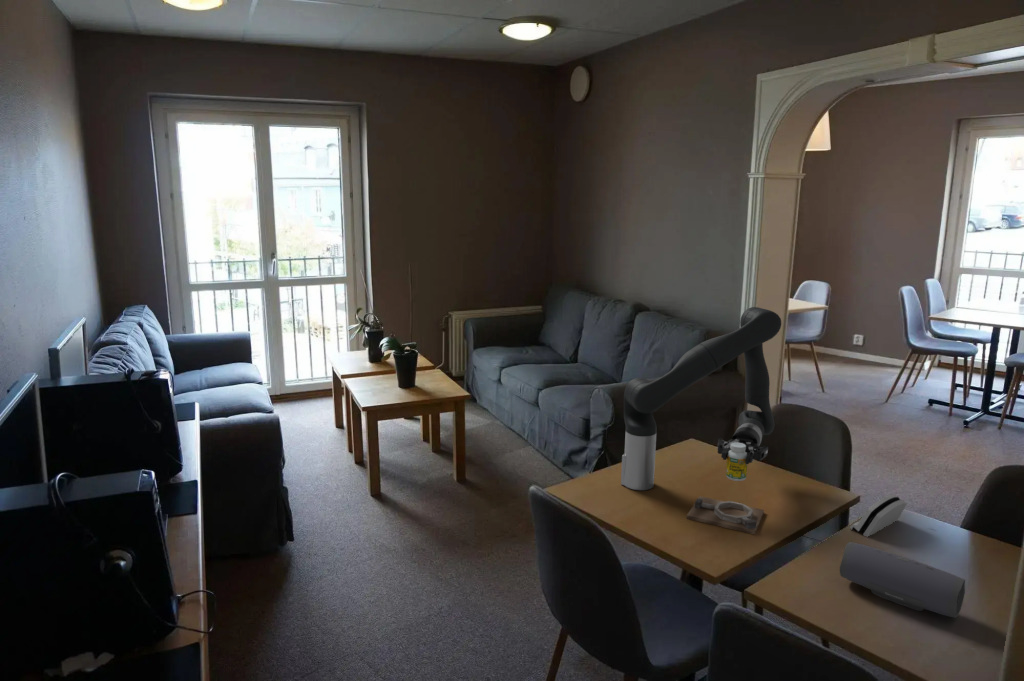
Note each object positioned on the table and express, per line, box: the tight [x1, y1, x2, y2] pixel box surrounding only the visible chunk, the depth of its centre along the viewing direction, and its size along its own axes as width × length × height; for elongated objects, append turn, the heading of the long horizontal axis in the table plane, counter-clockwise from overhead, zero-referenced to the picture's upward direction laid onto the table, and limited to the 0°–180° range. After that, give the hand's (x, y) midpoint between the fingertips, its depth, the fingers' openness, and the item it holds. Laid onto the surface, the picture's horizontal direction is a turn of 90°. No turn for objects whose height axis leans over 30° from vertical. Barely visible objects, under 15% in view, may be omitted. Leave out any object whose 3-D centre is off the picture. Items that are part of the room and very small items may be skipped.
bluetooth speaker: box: [839, 541, 966, 619], centre depth 150 cm, size 23×9×10 cm, turn 46°
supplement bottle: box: [725, 442, 748, 482], centre depth 187 cm, size 5×5×10 cm
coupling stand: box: [686, 495, 765, 535], centre depth 189 cm, size 18×14×3 cm
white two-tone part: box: [849, 494, 908, 538], centre depth 183 cm, size 17×5×10 cm, turn 126°
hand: (735, 458), depth 184 cm, fingers closed on supplement bottle, 5 cm apart
